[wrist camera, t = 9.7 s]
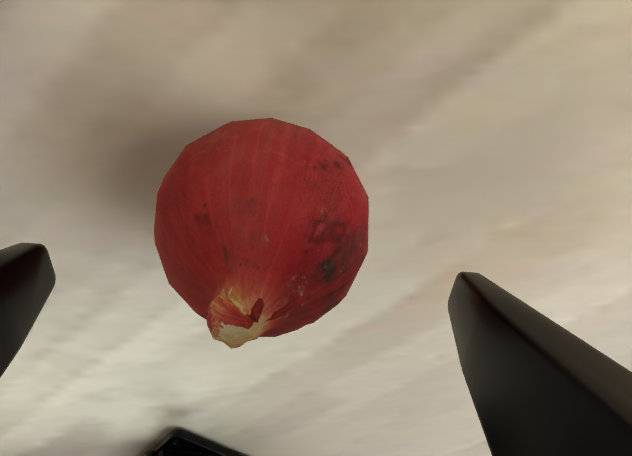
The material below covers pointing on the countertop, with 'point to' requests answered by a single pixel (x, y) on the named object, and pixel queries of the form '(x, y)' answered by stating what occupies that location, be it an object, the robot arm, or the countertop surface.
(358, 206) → the onion
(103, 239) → the countertop surface
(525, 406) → the robot arm
